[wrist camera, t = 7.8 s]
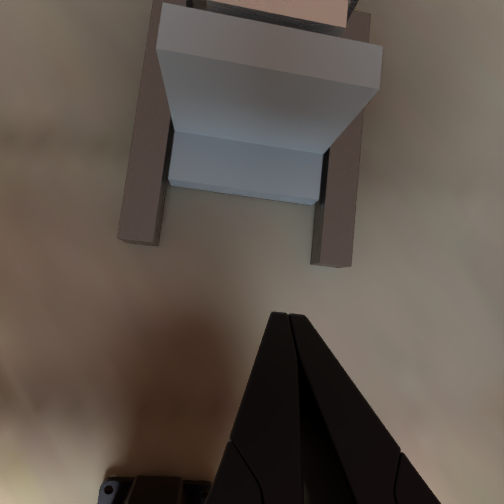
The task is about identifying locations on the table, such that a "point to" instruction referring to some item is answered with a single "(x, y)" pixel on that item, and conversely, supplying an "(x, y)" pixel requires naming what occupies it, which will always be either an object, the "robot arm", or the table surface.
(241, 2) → the wooden block
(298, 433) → the robot arm
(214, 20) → the jaw
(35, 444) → the table surface
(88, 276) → the table surface
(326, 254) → the vise
